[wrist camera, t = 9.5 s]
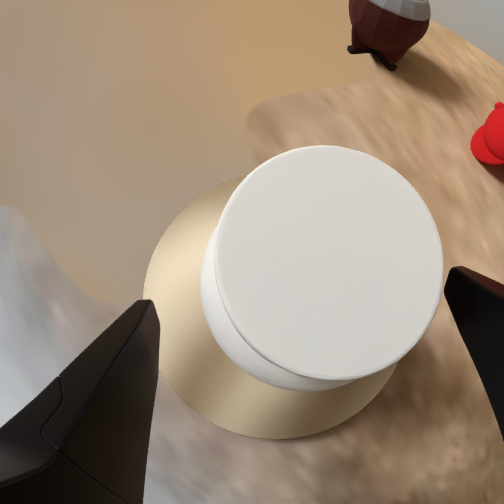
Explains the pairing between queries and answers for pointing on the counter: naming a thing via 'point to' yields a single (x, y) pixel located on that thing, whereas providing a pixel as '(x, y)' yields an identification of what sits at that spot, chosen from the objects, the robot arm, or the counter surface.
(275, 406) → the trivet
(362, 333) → the pill bottle
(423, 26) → the mate gourd
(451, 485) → the counter surface
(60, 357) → the counter surface
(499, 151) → the cap
